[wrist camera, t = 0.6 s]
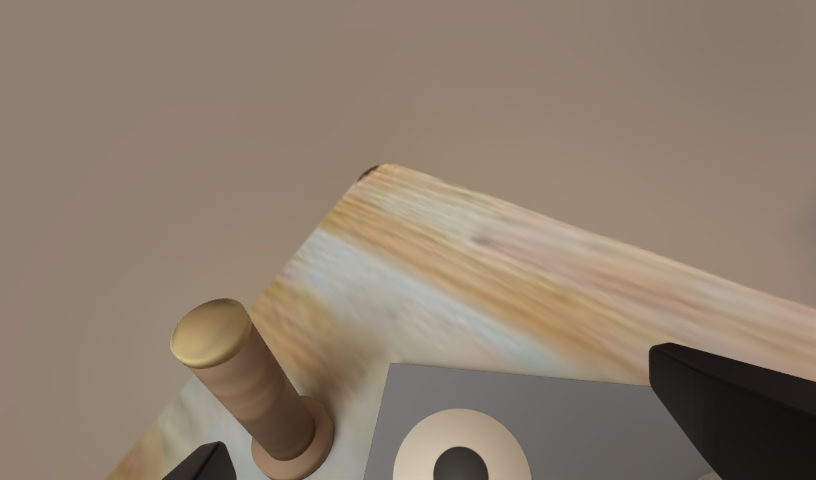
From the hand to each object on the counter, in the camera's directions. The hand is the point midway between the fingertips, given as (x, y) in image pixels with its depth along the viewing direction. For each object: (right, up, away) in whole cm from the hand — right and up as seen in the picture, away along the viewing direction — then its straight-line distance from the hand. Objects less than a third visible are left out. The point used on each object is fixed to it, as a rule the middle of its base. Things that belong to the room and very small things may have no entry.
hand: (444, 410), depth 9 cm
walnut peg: (-8, -9, +16) cm, 20 cm away
